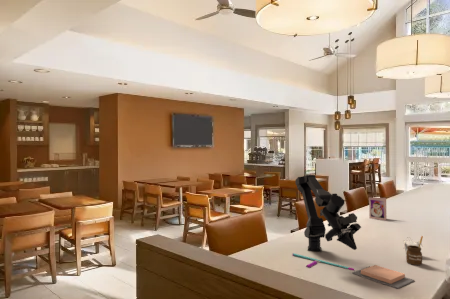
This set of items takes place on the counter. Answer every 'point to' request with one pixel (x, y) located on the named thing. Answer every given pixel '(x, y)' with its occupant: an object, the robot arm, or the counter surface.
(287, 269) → the counter surface
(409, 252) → the utensil holder
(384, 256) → the counter surface
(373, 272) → the ceramic tile
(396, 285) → the rubber mat
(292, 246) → the counter surface
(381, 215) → the greeting card
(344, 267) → the squeegee
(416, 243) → the elephant figurine
